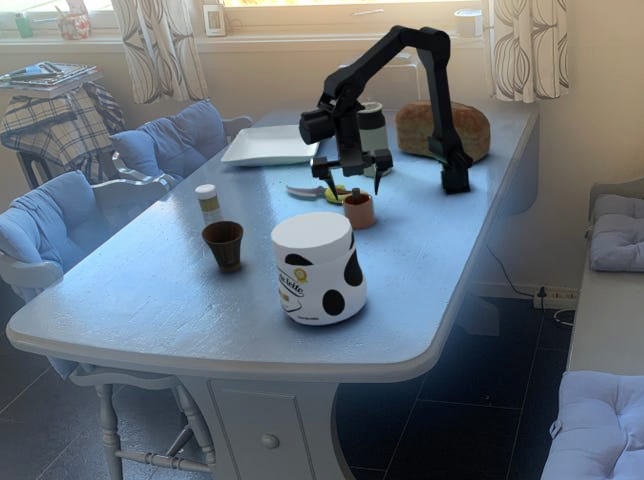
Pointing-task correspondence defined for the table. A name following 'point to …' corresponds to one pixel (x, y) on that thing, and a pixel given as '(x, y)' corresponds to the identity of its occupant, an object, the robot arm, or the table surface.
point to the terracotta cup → (359, 211)
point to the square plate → (269, 147)
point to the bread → (419, 124)
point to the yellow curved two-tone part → (323, 192)
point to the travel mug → (372, 131)
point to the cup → (225, 243)
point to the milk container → (318, 269)
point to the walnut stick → (356, 196)
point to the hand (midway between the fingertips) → (356, 197)
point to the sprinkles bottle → (209, 204)
